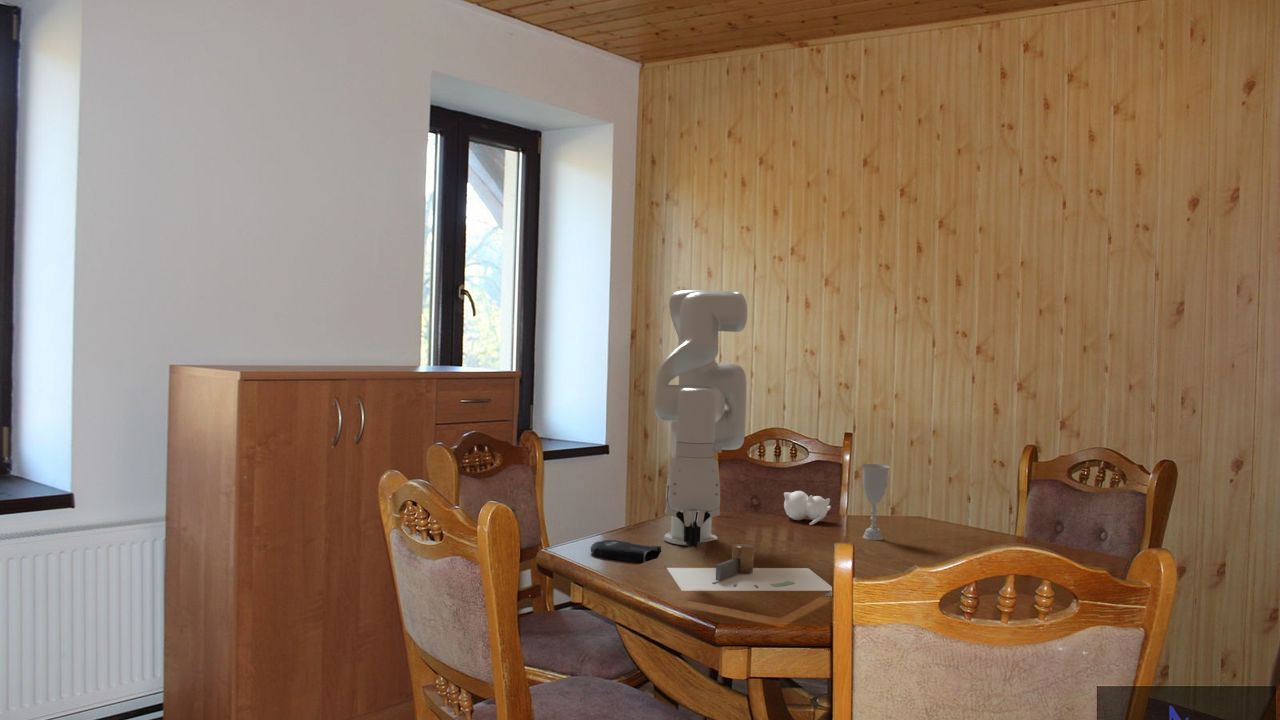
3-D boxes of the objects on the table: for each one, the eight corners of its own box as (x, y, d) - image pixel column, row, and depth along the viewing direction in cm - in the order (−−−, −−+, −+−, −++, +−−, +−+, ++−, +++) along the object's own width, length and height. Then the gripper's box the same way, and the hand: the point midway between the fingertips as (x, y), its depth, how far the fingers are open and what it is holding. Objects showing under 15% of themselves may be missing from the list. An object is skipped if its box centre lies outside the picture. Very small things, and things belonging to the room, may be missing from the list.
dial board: (666, 573, 206) (666, 567, 206) (808, 573, 210) (808, 567, 210) (681, 597, 188) (681, 589, 188) (836, 596, 192) (836, 589, 192)
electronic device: (661, 563, 222) (602, 546, 229) (664, 540, 221) (604, 523, 227) (643, 578, 214) (582, 559, 220) (646, 553, 213) (584, 535, 219)
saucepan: (737, 567, 208) (738, 542, 207) (756, 570, 205) (757, 546, 205) (707, 578, 197) (708, 553, 197) (728, 582, 194) (728, 556, 194)
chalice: (893, 540, 248) (896, 467, 248) (869, 541, 246) (872, 468, 245) (875, 534, 255) (878, 463, 255) (852, 535, 253) (855, 464, 252)
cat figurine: (830, 487, 269) (787, 481, 274) (819, 513, 261) (775, 507, 267) (832, 512, 274) (790, 506, 279) (822, 538, 266) (778, 532, 271)
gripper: (728, 450, 200) (725, 542, 200) (654, 448, 198) (650, 542, 198) (736, 454, 192) (733, 550, 192) (659, 452, 190) (656, 549, 190)
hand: (691, 545), depth 195 cm, fingers closed
